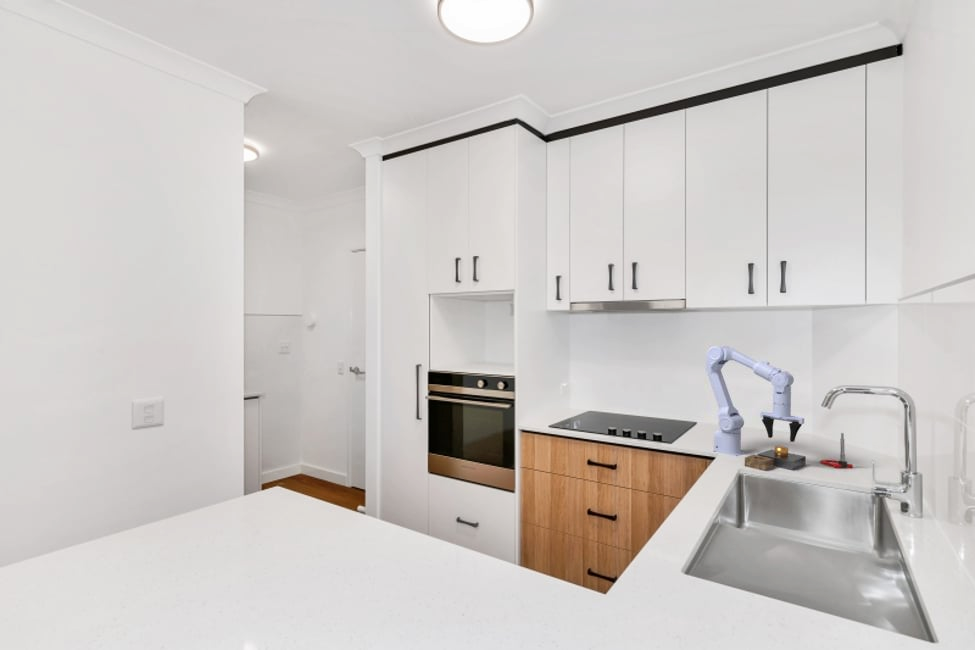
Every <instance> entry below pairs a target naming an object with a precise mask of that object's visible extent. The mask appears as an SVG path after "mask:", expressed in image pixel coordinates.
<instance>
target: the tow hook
mask: <svg viewBox="0 0 975 650" xmlns="http://www.w3.org/2000/svg"><path fill="white" fill-rule="evenodd" d="M844 435H845V434H844V432H841V433H840V453H839V460H834V459H821V460H820V463H821V464H822V465H825V466H831V467H832V468H834V469H853V467H854V466H853V464H852V463H848V461H847V460H846V453H845V450H846V449H845V437H844ZM831 462H832V463H831Z"/></svg>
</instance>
